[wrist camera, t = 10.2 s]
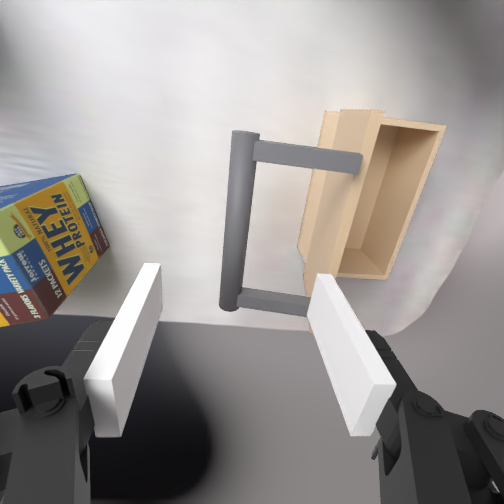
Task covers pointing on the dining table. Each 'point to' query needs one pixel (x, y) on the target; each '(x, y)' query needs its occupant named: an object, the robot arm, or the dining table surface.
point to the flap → (328, 216)
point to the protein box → (45, 245)
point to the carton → (378, 194)
